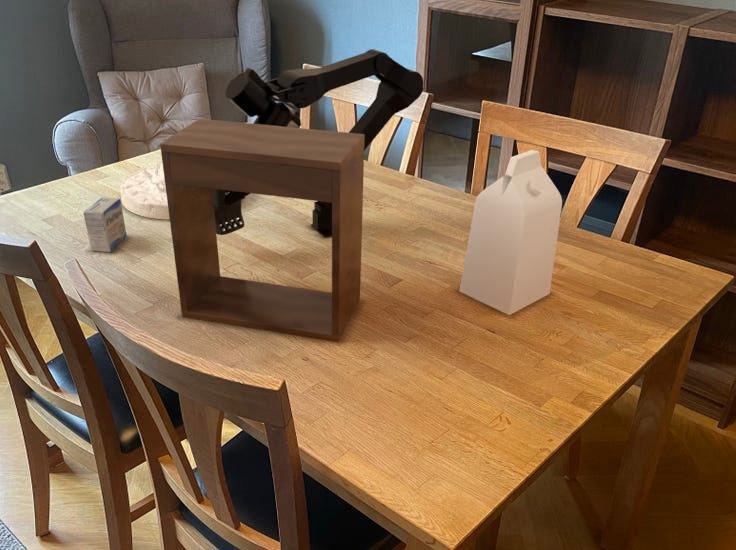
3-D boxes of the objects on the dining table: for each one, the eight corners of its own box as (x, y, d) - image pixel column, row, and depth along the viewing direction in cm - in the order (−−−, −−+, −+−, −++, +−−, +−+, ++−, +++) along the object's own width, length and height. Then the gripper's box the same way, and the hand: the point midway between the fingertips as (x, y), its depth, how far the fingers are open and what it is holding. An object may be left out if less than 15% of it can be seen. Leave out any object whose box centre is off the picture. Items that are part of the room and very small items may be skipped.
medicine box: (110, 253, 149) (103, 213, 144) (90, 251, 150) (82, 211, 145) (127, 237, 156) (121, 198, 151) (107, 235, 156) (100, 196, 152)
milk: (500, 271, 144) (519, 138, 129) (549, 293, 136) (576, 155, 122) (459, 291, 137) (474, 153, 122) (509, 315, 130) (531, 171, 115)
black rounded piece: (222, 239, 142) (216, 181, 136) (210, 233, 144) (203, 176, 138) (250, 228, 146) (245, 172, 140) (238, 222, 148) (233, 167, 142)
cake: (96, 208, 168) (89, 167, 163) (165, 169, 190) (160, 132, 184) (202, 228, 160) (198, 186, 154) (262, 185, 181) (260, 146, 176)
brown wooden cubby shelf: (214, 280, 140) (199, 118, 123) (359, 302, 133) (364, 134, 116) (182, 316, 129) (159, 143, 112) (338, 342, 122) (340, 162, 105)
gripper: (211, 95, 140) (167, 165, 141) (266, 118, 128) (217, 194, 129) (249, 129, 149) (207, 194, 149) (304, 153, 136) (258, 224, 137)
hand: (221, 200), depth 141 cm, fingers closed on black rounded piece, 4 cm apart
